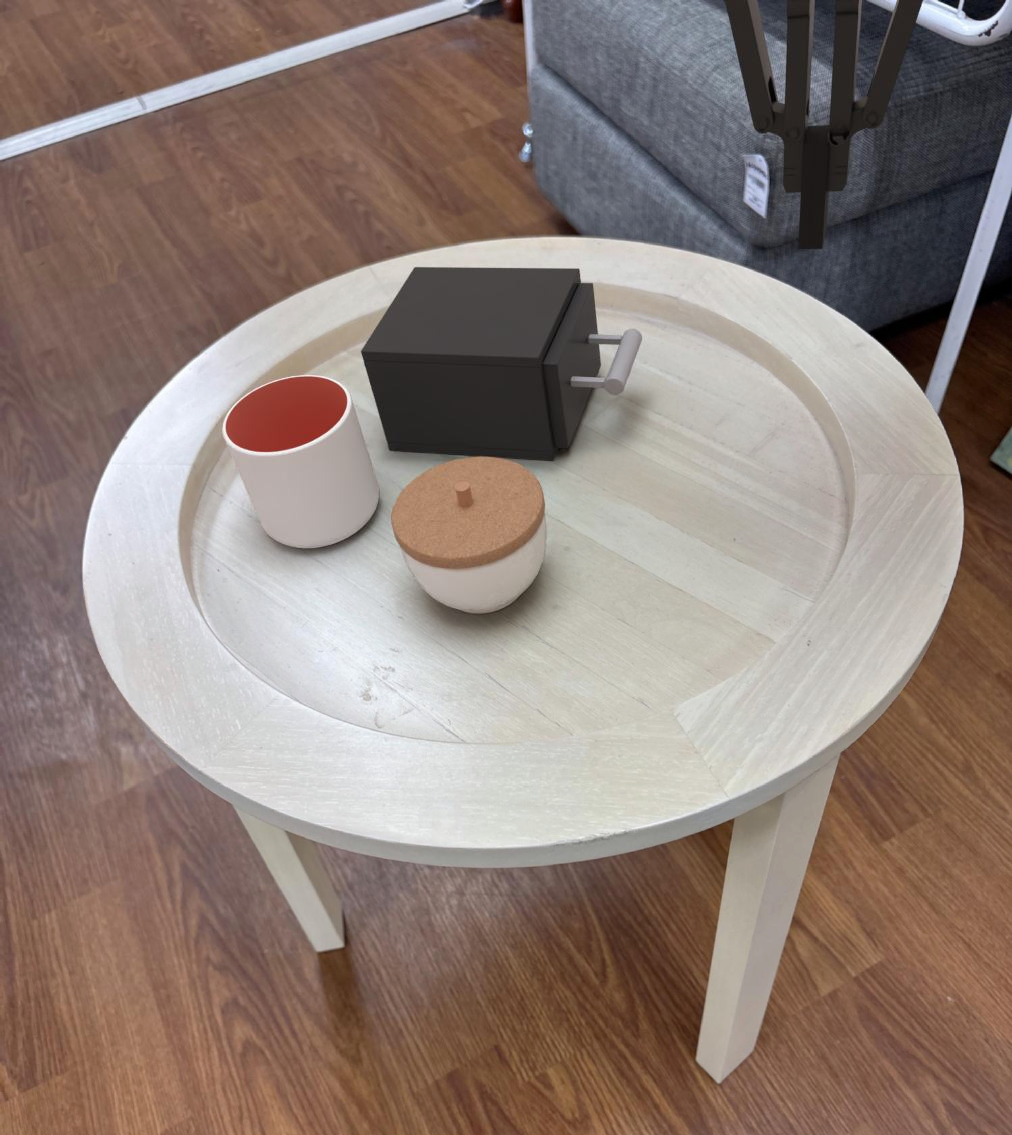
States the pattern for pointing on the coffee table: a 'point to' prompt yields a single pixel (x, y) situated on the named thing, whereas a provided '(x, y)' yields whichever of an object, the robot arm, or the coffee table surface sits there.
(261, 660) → the coffee table surface
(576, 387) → the pull-out drawer
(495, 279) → the dark drawer box
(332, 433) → the cup
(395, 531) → the trinket box
